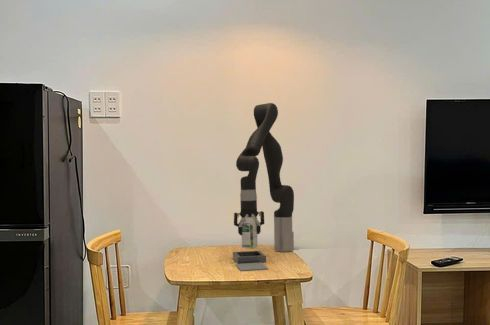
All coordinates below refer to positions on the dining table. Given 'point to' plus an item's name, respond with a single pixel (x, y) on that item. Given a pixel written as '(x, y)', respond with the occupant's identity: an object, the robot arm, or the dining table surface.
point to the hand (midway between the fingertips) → (249, 234)
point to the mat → (251, 266)
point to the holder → (249, 257)
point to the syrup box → (249, 233)
